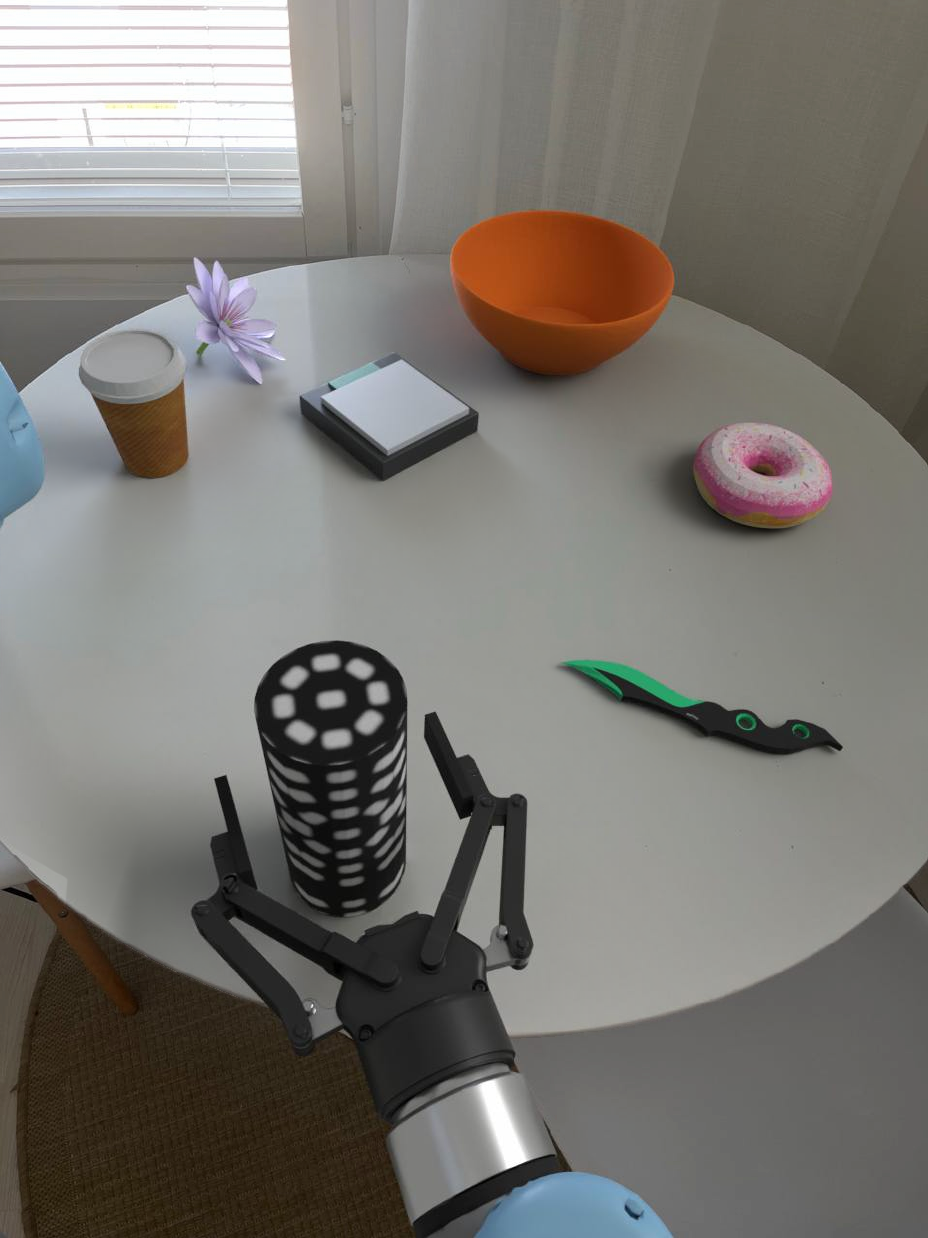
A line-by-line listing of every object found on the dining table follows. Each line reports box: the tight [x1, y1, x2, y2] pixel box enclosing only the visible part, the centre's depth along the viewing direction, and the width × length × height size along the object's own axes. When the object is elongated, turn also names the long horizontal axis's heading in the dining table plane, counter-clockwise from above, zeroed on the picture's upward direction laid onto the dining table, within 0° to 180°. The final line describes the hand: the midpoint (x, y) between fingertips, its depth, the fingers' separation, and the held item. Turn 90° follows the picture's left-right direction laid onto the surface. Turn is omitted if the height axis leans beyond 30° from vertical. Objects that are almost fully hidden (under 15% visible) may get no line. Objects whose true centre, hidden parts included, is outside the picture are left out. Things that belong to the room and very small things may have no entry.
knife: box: [560, 659, 844, 755], centre depth 75 cm, size 23×1×5 cm
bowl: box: [449, 209, 675, 376], centre depth 105 cm, size 25×25×10 cm
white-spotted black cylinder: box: [253, 639, 409, 918], centre depth 57 cm, size 8×8×20 cm
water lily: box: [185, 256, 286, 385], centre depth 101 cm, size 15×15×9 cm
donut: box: [693, 422, 834, 529], centre depth 91 cm, size 14×13×5 cm
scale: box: [298, 351, 480, 482], centre depth 96 cm, size 14×13×3 cm
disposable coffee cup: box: [78, 328, 190, 479], centre depth 87 cm, size 10×10×12 cm
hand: (329, 754), depth 58 cm, fingers open, 13 cm apart
